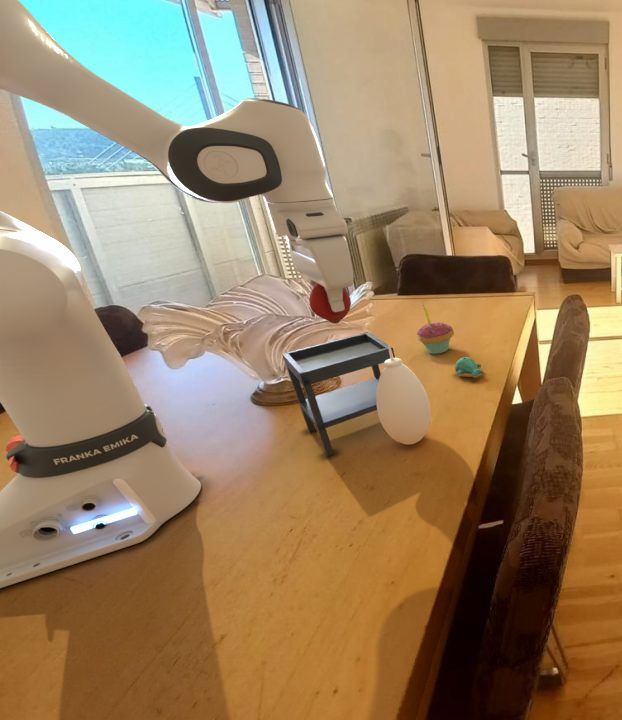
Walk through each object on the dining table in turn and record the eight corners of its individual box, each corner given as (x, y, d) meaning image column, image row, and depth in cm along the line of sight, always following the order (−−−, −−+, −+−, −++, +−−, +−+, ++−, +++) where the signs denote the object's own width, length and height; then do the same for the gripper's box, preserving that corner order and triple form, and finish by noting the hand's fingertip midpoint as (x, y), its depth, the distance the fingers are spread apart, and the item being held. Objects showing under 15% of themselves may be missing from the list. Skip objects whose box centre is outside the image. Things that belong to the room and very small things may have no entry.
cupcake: (413, 355, 118) (403, 308, 113) (435, 342, 125) (426, 299, 120) (443, 358, 115) (433, 311, 111) (463, 345, 123) (455, 300, 118)
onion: (347, 315, 83) (334, 270, 80) (361, 321, 80) (349, 274, 76) (311, 324, 79) (296, 277, 76) (325, 331, 76) (310, 282, 72)
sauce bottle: (416, 425, 87) (395, 333, 79) (445, 436, 83) (425, 340, 76) (378, 446, 80) (350, 349, 73) (407, 459, 77) (381, 358, 70)
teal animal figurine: (473, 366, 110) (470, 351, 109) (491, 375, 106) (488, 359, 104) (450, 375, 106) (447, 359, 105) (468, 384, 102) (465, 368, 100)
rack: (327, 456, 78) (299, 373, 72) (308, 430, 86) (281, 353, 80) (411, 423, 87) (392, 347, 81) (386, 402, 95) (368, 331, 89)
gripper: (267, 217, 77) (293, 299, 83) (299, 227, 64) (328, 324, 69) (311, 213, 81) (333, 291, 87) (349, 222, 68) (373, 314, 73)
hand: (331, 306), depth 78 cm, fingers closed on onion, 6 cm apart
